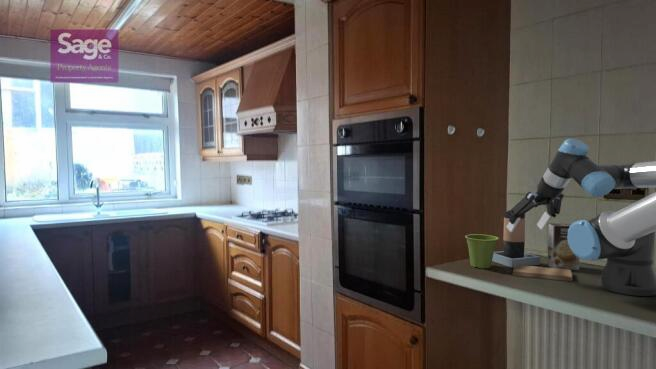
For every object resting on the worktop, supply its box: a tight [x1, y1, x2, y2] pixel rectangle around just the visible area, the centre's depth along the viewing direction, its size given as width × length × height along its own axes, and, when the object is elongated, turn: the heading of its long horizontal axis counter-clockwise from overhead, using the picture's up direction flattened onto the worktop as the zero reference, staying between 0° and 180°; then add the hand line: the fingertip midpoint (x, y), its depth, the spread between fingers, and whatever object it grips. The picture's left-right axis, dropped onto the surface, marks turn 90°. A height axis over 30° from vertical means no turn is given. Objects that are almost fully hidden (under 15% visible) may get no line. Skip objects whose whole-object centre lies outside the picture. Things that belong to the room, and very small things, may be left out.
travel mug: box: [502, 209, 526, 259], centre depth 168 cm, size 8×8×20 cm
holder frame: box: [492, 250, 541, 269], centre depth 168 cm, size 13×13×3 cm
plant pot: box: [464, 233, 499, 269], centre depth 162 cm, size 12×12×11 cm
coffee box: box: [546, 222, 581, 271], centre depth 159 cm, size 9×6×16 cm
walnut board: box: [512, 265, 573, 282], centre depth 150 cm, size 18×10×2 cm, turn 63°
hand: (524, 228), depth 155 cm, fingers open, 13 cm apart
